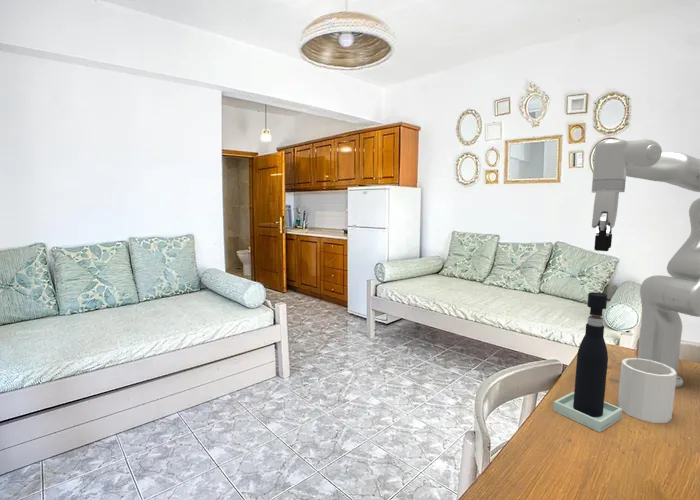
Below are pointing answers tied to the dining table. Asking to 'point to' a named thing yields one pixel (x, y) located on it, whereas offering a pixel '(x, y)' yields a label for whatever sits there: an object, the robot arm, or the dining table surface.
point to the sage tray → (596, 423)
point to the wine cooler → (647, 390)
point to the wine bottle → (592, 361)
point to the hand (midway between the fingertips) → (602, 249)
